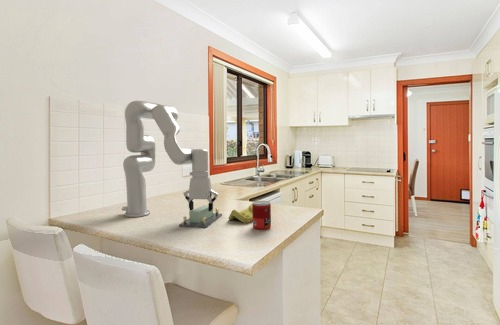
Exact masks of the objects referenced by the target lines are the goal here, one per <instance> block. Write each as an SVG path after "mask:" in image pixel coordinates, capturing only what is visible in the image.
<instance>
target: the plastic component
mask: <svg viewBox="0 0 500 325" xmlns="http://www.w3.org/2000/svg"><path fill="white" fill-rule="evenodd" d="M255 201H260V200H259V199H256V200H254V201H253V202H255ZM235 219H237V220H239V221H240V222H242V223H244V224H248V223H252V222H253V212H252V203H251V204H249V205H248V207H247V208H245V209H242V210H240V211H238V210H237V209H233V210H231V212H230V214H229V216H228V220H229V221H233V220H235Z"/></svg>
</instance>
